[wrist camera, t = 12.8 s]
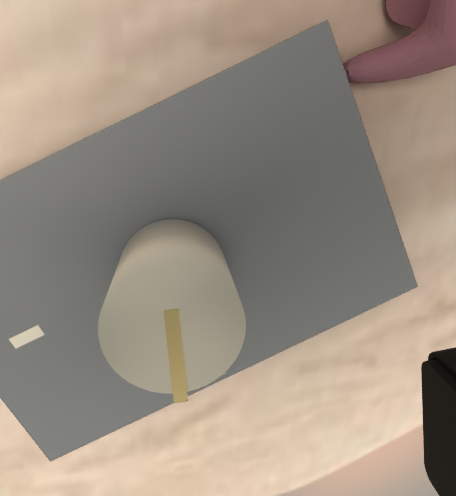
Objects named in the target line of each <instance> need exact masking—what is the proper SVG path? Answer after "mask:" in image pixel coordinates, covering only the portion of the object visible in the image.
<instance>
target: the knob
mask: <svg viewBox="0 0 456 496" xmlns="http://www.w3.org/2000/svg"><path fill="white" fill-rule="evenodd" d="M245 332H246V320H245V313H244V309H243V306H242V303H241V300H240V298H239V295H238V292H237V289H236V287H235V284H234V281H233V279H232V276H231V273H230V270H229V268H228V265H227V262H226V260H225V257H224V254H223V252H222V249H221V247H220V245H219V244H218V242H217V241H216V239H215V238H214V237H213V236H212V235H211V234H210V233H209V232H208V231H207V230H205V229H204V228H202V227H201V226H199V225H197V224H194V223H192V222H189V221H185V220H179V219H167V220H160V221H157V222H153V223H151V224H149V225H147V226H145V227H143V228H142V229H140V230H139V231H138V232H136V233H135V234H134V235H133V236H132V237H131V238H130V240H129V241H128V243H127V244H126V246H125V248H124V249H123V252H122V255H121V257H120V260H119V263H118V266H117V268H116V271H115V274H114V276H113V279H112V282H111V284H110V287H109V290H108V293H107V295H106V298H105V301H104V303H103V306H102V309H101V311H100V316H99V320H98V338H99V343H100V347H101V349H102V352H103V354H104V356H105V358H106V360H107V362H108V363H109V364H110V366H111V367H112V368H113V370H114V371H115V372H116V373H117V374H119V375H120V376H121V377H122V378H123V379H125V380H126V381H127V382H129V383H131V384H133V385H135V386H137V387H139V388H142V389H144V390H148V391H151V392H156V393H166V394H173V399H174V403H177V402H184V401H188V397H187V392H189V391H192V390H196V389H199V388H201V387H203V386H206V385H208V384H209V383H211V382H213V381H215V380H216V379H217V378H219V377H220V376H221V375H222V374H224V373H225V372H226V371H227V370H228V369H229V368H230V366H231V365H232V364H233V363H234V361H235V360H236V358H237V356H238V355H239V352H240V350H241V348H242V345H243V342H244V338H245Z"/></svg>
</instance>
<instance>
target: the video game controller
mask: <svg viewBox="0 0 456 496" xmlns="http://www.w3.org/2000/svg"><path fill="white" fill-rule="evenodd" d="M386 8H387V13H388V15H389V17H390V18H391V19H392V21H394V22H396V23H398V24H401V25H404V26H408V27H410V28H412V29H414V32H412V33H411V34H409V35H407V36H405V37H403V38H401V39H399V40H397V41H395V42H393V43H390V44H387V45H384V46H381V47H378V48H376V49H373V50H370V51H367V52H364V53H362V54H360V55H358V56H356V57H355V58H353V59H351V60H349V61H348V62H347V63H345V64H344V65H343V67H344V70H345V73H346V76H347V79H348V82H353V83H374V82H384V81H390V80H396V79H405V78H411V77H414V76H418V75H422V74H426V73H430V72H433V71H436V70H440V69H443V68H447V67H450V66H453V65H456V0H386Z"/></svg>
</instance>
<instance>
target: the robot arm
mask: <svg viewBox="0 0 456 496" xmlns="http://www.w3.org/2000/svg"><path fill="white" fill-rule="evenodd" d="M421 369H422V403H423V434H424V464H425V469H426V472H427V475H428V477H429V480H430V481H431V483H432V485H433V486H434V488H435V490H436V491H437V493H438V494H439V496H456V348H451V349H446V350H441V351H436V352H432V353H430V354H429V357H428V361H424V362H423V363H422V368H421Z"/></svg>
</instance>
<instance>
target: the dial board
mask: <svg viewBox="0 0 456 496" xmlns="http://www.w3.org/2000/svg"><path fill="white" fill-rule="evenodd" d="M167 219H179V220H185V221H189V222H192V223H194V224H197V225H199V226H201V227H202V228H204V229H205V230H207V231H208V232H209V233H210V234H211V235H212V236H213V237H214V238H215V239H216V241H217V242H218V244H219V245H220V247H221V249H222V252H223V254H224V257H225V260H226V262H227V265H228V268H229V270H230V273H231V276H232V279H233V281H234V284H235V287H236V289H237V292H238V295H239V298H240V300H241V303H242V306H243V309H244V313H245V320H246V332H245V338H244V342H243V345H242V348H241V350H240V352H239V355H238V356H237V358H236V360H235V361H234V363H233V364H232V365H231V366H230V368H229V369H228V370H227V371H226V372H225V373H224V374H222V375H221V376H220V377H219V378H217V379H216V380H215V381H213V382H211V383H209V384H208V385H206V386H203V387H201V388H199V389H196V390H192V391H189V392H187V396H189V395H191V394H193V393H195V392H197V391H200V390H202V389H204V388H206V387H208V386H210V385H212V384H214V383H216V382H218V381H221V380H223V379H225V378H227V377H229V376H231V375H233V374H235V373H237V372H239V371H242V370H244V369H246V368H248V367H250V366H252V365H254V364H256V363H258V362H260V361H263V360H265V359H267V358H269V357H271V356H273V355H275V354H277V353H279V352H281V351H284V350H286V349H288V348H290V347H292V346H294V345H296V344H298V343H300V342H302V341H305V340H307V339H309V338H311V337H313V336H315V335H317V334H319V333H321V332H323V331H326V330H328V329H330V328H332V327H334V326H336V325H338V324H340V323H342V322H344V321H346V320H349V319H351V318H353V317H355V316H357V315H359V314H361V313H363V312H365V311H367V310H370V309H372V308H374V307H376V306H378V305H380V304H382V303H384V302H386V301H388V300H391V299H393V298H395V297H397V296H399V295H401V294H403V293H405V292H407V291H409V290H412V289H414V288H416V287H418V286H417V283H416V280H415V277H414V274H413V271H412V268H411V265H410V262H409V259H408V256H407V253H406V250H405V247H404V244H403V241H402V238H401V235H400V232H399V229H398V226H397V224H396V221H395V218H394V215H393V212H392V209H391V206H390V203H389V200H388V197H387V194H386V191H385V188H384V185H383V182H382V179H381V176H380V173H379V170H378V167H377V164H376V161H375V158H374V156H373V153H372V150H371V147H370V144H369V141H368V138H367V135H366V132H365V129H364V126H363V123H362V120H361V117H360V114H359V111H358V108H357V105H356V102H355V99H354V96H353V93H352V90H351V88H350V85H349V82H348V79H347V76H346V73H345V70H344V67H343V64H342V61H341V58H340V55H339V52H338V49H337V46H336V43H335V40H334V37H333V34H332V31H331V28H330V25H329V22H328V20H326V21H324V22H322V23H320V24H318V25H316V26H314V27H312V28H310V29H308V30H306V31H304V32H302V33H300V34H298V35H296V36H294V37H292V38H290V39H288V40H285V41H283V42H281V43H279V44H277V45H275V46H273V47H271V48H269V49H267V50H265V51H263V52H261V53H259V54H257V55H255V56H253V57H251V58H249V59H247V60H245V61H243V62H241V63H239V64H237V65H234V66H232V67H230V68H228V69H226V70H224V71H222V72H220V73H218V74H216V75H214V76H212V77H210V78H208V79H206V80H204V81H202V82H200V83H198V84H196V85H194V86H192V87H190V88H188V89H186V90H184V91H181V92H179V93H177V94H175V95H173V96H171V97H169V98H167V99H165V100H163V101H161V102H159V103H157V104H155V105H153V106H151V107H149V108H147V109H145V110H143V111H141V112H139V113H137V114H135V115H133V116H130V117H128V118H126V119H124V120H122V121H120V122H118V123H116V124H114V125H112V126H110V127H108V128H106V129H104V130H102V131H100V132H98V133H96V134H94V135H92V136H90V137H88V138H86V139H84V140H82V141H80V142H77V143H75V144H73V145H71V146H69V147H67V148H65V149H63V150H61V151H59V152H57V153H55V154H53V155H51V156H49V157H47V158H45V159H43V160H41V161H39V162H37V163H35V164H33V165H31V166H29V167H26V168H24V169H22V170H20V171H18V172H16V173H14V174H12V175H10V176H8V177H6V178H4V179H2V180H0V398H1V399H2V400H3V402H4V403H5V404H6V406H7V407H8V408H9V409H10V411H11V412H12V413H13V415H14V416H15V417H16V418H17V420H18V421H19V422H20V423H21V425H22V426H23V427H24V429H25V430H26V431H27V432H28V434H29V435H30V436H31V437H32V439H33V440H34V441H35V443H36V444H37V445H38V446H39V448H40V449H41V450H42V451H43V453H44V454H45V455H46V457H47V458H48V459H49V460H50V462H51V461H53V460H55V459H57V458H59V457H61V456H63V455H65V454H67V453H69V452H72V451H74V450H76V449H78V448H80V447H82V446H84V445H86V444H88V443H90V442H93V441H95V440H97V439H99V438H101V437H103V436H105V435H107V434H109V433H111V432H114V431H116V430H118V429H120V428H122V427H124V426H126V425H128V424H130V423H132V422H135V421H137V420H139V419H141V418H143V417H145V416H147V415H149V414H151V413H153V412H156V411H158V410H160V409H162V408H164V407H166V406H168V405H170V404H172V403H174V399H173V394H166V393H156V392H151V391H148V390H144V389H142V388H139V387H137V386H135V385H133V384H131V383H129V382H127V381H126V380H125V379H123V378H122V377H121V376H120V375H119V374H117V373H116V372H115V371H114V370H113V368H112V367H111V366H110V364H109V363H108V362H107V360H106V358H105V356H104V354H103V352H102V349H101V347H100V343H99V338H98V320H99V316H100V311H101V309H102V306H103V303H104V301H105V298H106V295H107V293H108V290H109V287H110V284H111V282H112V279H113V276H114V274H115V271H116V268H117V266H118V263H119V260H120V257H121V255H122V252H123V249H124V248H125V246H126V244H127V243H128V241H129V240H130V238H131V237H132V236H133V235H134V234H135V233H136V232H138V231H139V230H140V229H142V228H143V227H145V226H147V225H149V224H151V223H153V222H157V221H160V220H167Z"/></svg>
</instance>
